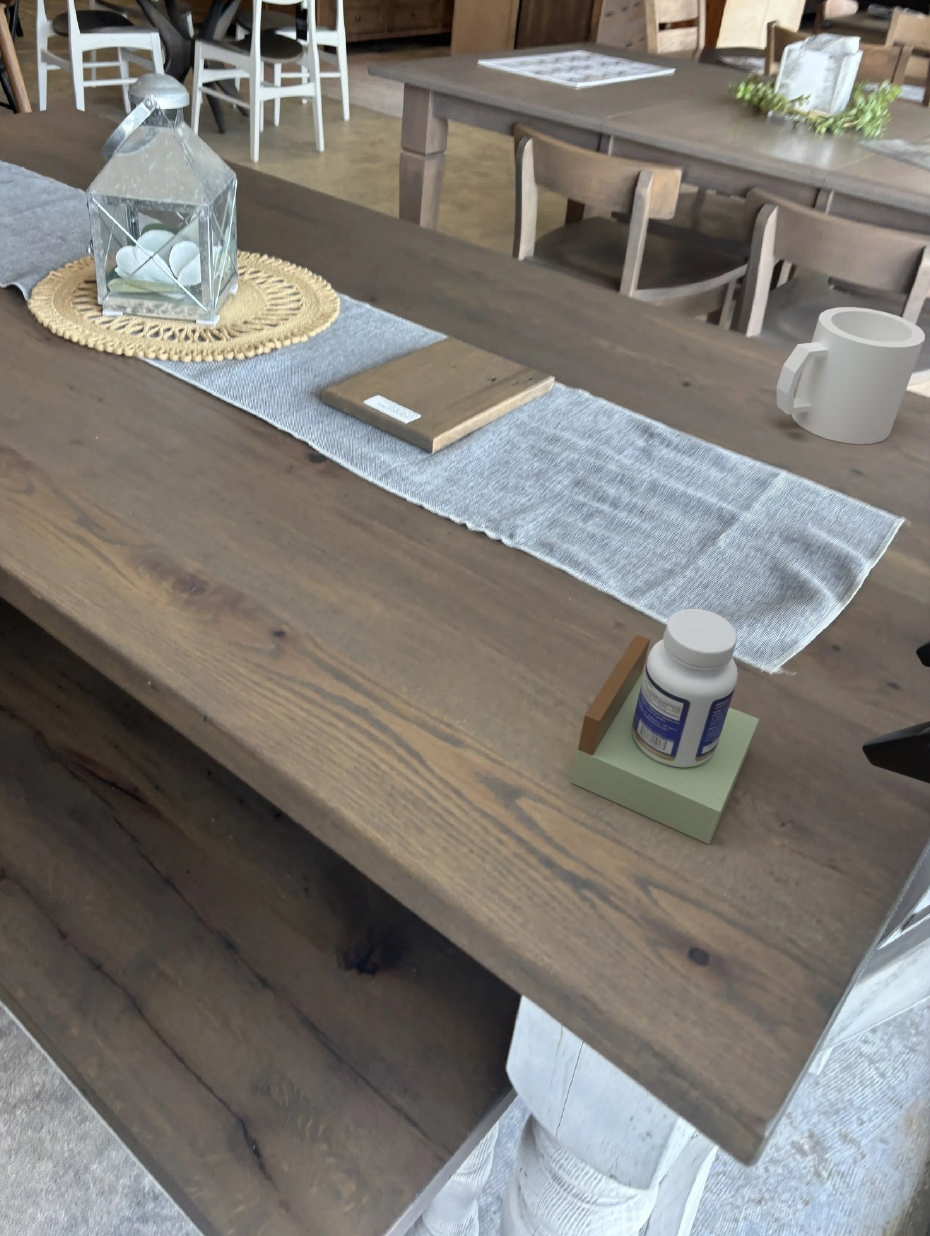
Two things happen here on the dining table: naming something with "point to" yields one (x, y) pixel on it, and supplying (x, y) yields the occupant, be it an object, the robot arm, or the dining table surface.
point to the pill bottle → (686, 689)
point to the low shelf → (640, 780)
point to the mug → (851, 374)
